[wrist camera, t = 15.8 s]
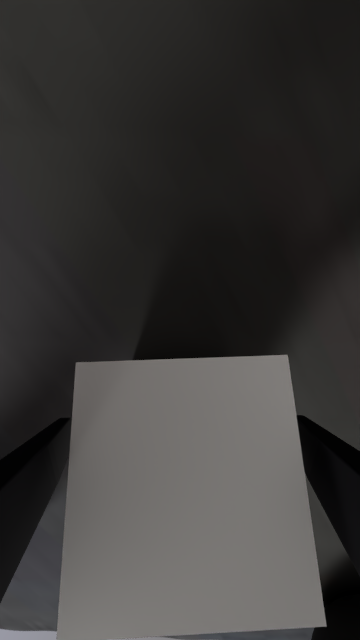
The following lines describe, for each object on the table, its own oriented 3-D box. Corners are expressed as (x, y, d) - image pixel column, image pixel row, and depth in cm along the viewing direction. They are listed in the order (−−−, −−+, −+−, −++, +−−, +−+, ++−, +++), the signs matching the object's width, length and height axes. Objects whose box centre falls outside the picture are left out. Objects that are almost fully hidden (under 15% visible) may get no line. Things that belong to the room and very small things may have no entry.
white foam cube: (130, 469, 14) (56, 642, 5) (132, 361, 16) (75, 362, 7) (236, 465, 14) (326, 626, 6) (227, 357, 16) (287, 354, 7)
